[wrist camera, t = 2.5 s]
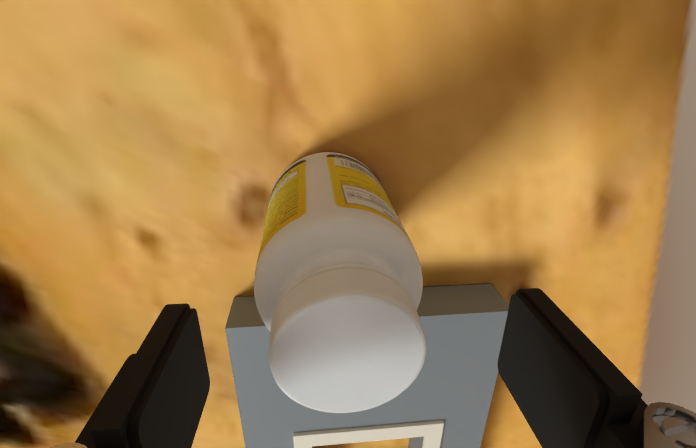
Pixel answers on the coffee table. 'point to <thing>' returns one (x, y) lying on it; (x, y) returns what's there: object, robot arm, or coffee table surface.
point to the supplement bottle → (338, 288)
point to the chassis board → (402, 411)
